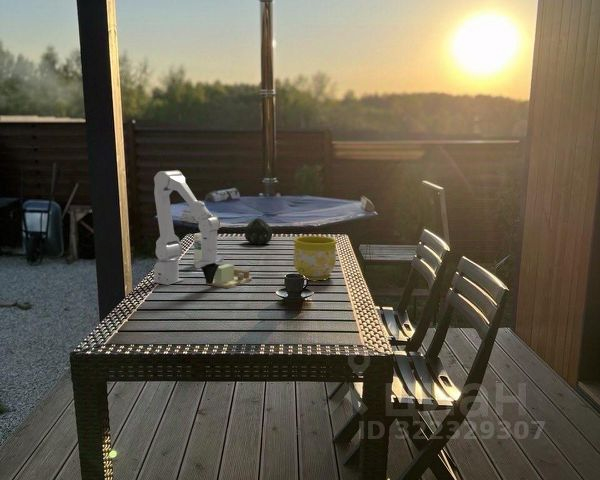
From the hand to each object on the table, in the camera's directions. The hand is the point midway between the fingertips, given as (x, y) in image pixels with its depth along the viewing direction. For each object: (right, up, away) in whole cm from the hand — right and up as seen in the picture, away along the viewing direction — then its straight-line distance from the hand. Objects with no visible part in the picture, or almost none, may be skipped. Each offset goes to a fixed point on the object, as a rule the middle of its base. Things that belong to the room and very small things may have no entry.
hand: (209, 283), depth 226 cm
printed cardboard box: (-9, +5, +39) cm, 41 cm away
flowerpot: (+41, 0, +22) cm, 46 cm away
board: (+6, 0, +11) cm, 13 cm away
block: (+5, 0, +8) cm, 9 cm away
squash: (+12, +14, +95) cm, 96 cm away
